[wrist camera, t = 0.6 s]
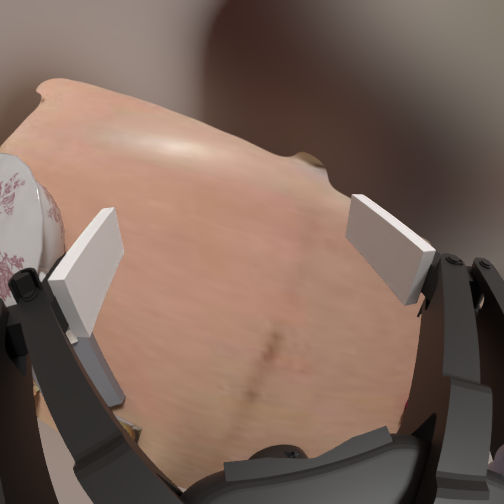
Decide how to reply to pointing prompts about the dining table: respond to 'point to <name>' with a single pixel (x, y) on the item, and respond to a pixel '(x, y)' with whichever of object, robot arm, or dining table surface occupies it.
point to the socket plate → (95, 368)
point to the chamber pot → (26, 224)
